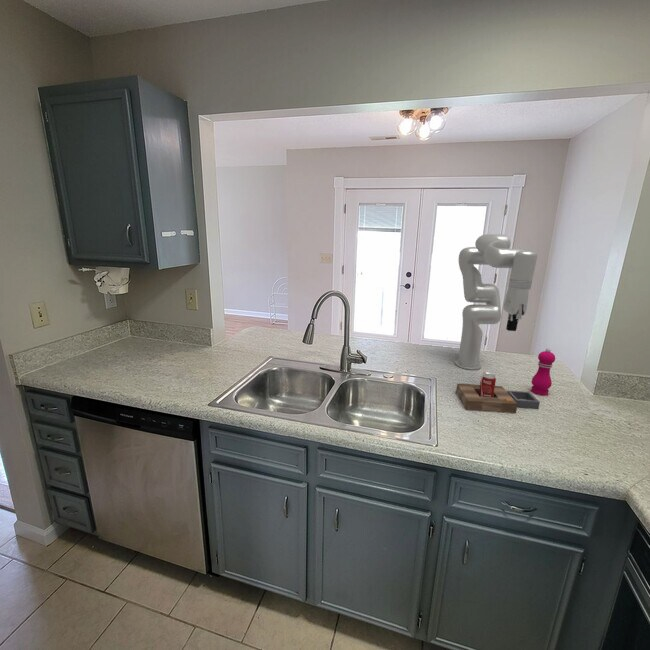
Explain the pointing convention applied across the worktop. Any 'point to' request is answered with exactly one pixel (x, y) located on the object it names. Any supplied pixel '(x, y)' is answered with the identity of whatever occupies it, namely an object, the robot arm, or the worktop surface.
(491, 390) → the soda can
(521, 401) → the holster
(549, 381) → the pepper mill
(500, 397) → the block
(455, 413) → the worktop surface
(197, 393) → the worktop surface
